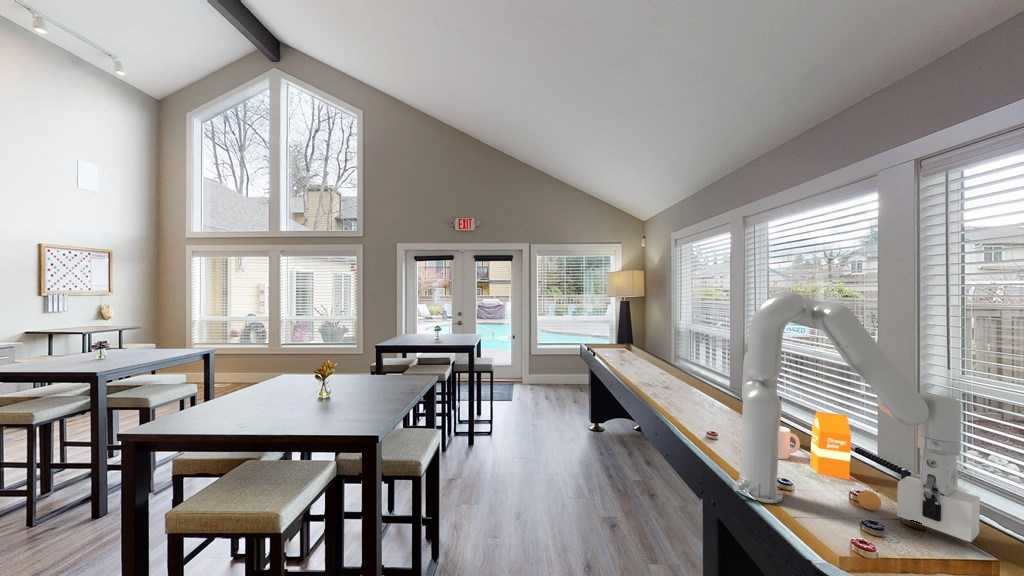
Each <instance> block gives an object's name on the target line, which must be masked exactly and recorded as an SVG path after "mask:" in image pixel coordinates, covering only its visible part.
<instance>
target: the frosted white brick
mask: <svg viewBox="0 0 1024 576" xmlns="http://www.w3.org/2000/svg"><path fill="white" fill-rule="evenodd" d="M933 490H935V491H938V490H937V489H933ZM896 493H897V495H896V496H897V498H896V499H897V500H896V516H897V517H900V518H902V519H905V520H907V521H910V520H914V521H918V522H920V523H922V526H924V527H927V528H930V529H933V530H936V531H938V532H941V533H944V534H947V535H949V536H952V537H955V538H957V539H960V540H964V541H966V542H968V543H972V542H973V541H974V540H975V539H976V538H977V536H978V535H979V534H980V515H981V513H980V511H981V510H980V507H981V497H980V496H977V495H974V494H970V493H967V492H963V491H960V490H958V489H957V490H956V491H954V492H953V493H952V494H950V495H949V496H944V494H941V495H940V503H939V505H941V521H940V522H938V521H935V520H932V519H929V518H926V517H924V516H923V515H922V510H923V495H924V494H923V493H924V489H923V488H922V487H921V478H920V479H919V478H916V477H912V476H909V475H907V476H905V477H904V478H902V479H900V480H899V481H897V491H896ZM933 495H935V498H936V495H937V494H935V493H933Z"/></svg>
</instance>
